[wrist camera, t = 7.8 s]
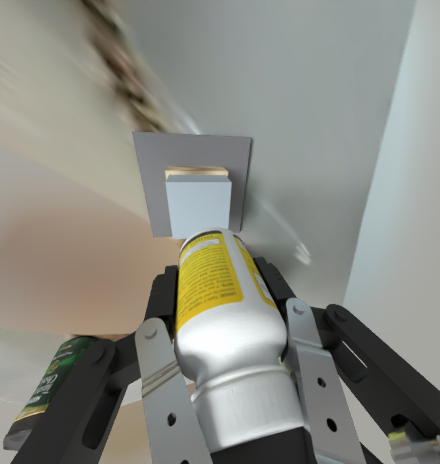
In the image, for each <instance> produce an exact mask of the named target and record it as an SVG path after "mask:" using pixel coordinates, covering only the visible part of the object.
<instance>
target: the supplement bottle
mask: <svg viewBox="0 0 440 464" xmlns="http://www.w3.org/2000/svg"><path fill="white" fill-rule="evenodd" d="M178 266H179V267H178V282H177V299H176V315H175V331H174V353H175V356H176V359H177V362H178V364H179V366H180V369H181V372H182V374H183V375H184V376H185V377H187V378H188V379H190V380H192V381H195V383H196V390H195V391H194V393H193V394H192V396H191V401H192V404H193V407H194V410H195V413H196V416H197V418H198V421H199V423H200V427H201V430H202V433H203V436H204V439H205V442H206V445H207V448H208V451H209V453H210V454H211V453H214V452H217V451H220V450H223V449H226V448H229V447H233V446H236V445H239V444H242V443H246V442H249V441H252V440H255V439H258V438H262V437H265V436H269V435H272V434H276V433H279V432H283V431H286V430H290V429H294V428H297V427H301V426H303V425H304V419H303V414H302V410H301V405H300V400H299V396H298V392H297V389H296V386H295V384H294V382H293V380H292V379H291V378H290V373H289V371H288V370H287V369H286V368H284V367H282V366H280V363H279V361H278V358H279V356H280V355H281V354H282V352H283V350H284V348H285V346H286V342H287V330H286V326H285V323H284V321H283V319H282V317H281V315H280V313H279V310H278V309H277V307H276V305H275V303H274V301H273V299H272V297H271V295H270V293H269V291H268V289H267V287H266V285H265V283H264V281H263V279H262V278H261V276H260V274H259V272H258V270H257V268H256V266H255V264H254V262H253V260H252V258H251V256H250V254H249V252H248V250H247V248H246V246H245V245H244V243H243V241H242V240H241V238H240V237H239V236H238V235H237V234H236V233H234V232H232V231H230V230H228V229H225V228H218V227H214V228H206V229H203V230H200V231H198V232H196V233H194V234H193V235H191V236H190V237H189V238H188V239H187V240H186V241H185V243H184V244H183V246H182V248H181V251H180V256H179V265H178Z"/></svg>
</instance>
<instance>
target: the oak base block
mask: <svg viewBox="0 0 440 464" xmlns="http://www.w3.org/2000/svg"><path fill="white" fill-rule="evenodd" d="M165 174H166V180H167V178H168V176H169V174H170V175H225V176H226V177H227V178H228V171H227V170H226V169H225V168H224V167H218V166H168V167H167V169H166V170H165Z"/></svg>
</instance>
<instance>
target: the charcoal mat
mask: <svg viewBox="0 0 440 464" xmlns="http://www.w3.org/2000/svg"><path fill="white" fill-rule="evenodd" d="M132 134H133V139H134V144H135V149H136V154H137V159H138V164H139V168H140V173H141V178H142V183H143V188H144V193H145V198H146V203H147V208H148V213H149V218H150V223H151V227H152V232H153V237H166V236H172V229H171V221H170V213H169V206H168V198H167V190H166V183H165V182H166V174H165V170H166V169H167V167H168V166H218V167H224V168H225V169H226V170H227V171H228V179H229V180H230V181H231V182H232V185H231V198H230V211H229V224H228V230H230V231H232V232H234V233H239V232H240V225H241V217H242V209H243V200H244V192H245V184H246V176H247V167H248V159H249V151H250V142H251V137H231V136H211V135H191V134H170V133H150V132H132Z"/></svg>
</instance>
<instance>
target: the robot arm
mask: <svg viewBox="0 0 440 464" xmlns="http://www.w3.org/2000/svg"><path fill="white" fill-rule="evenodd" d="M252 260H253V262H254V264H255V266H256V268H257V270H258V272H259V274H260V276H261V278H262V279H263V281H264V283H265V285H266V287H267V289H268V291H269V293H270V295H271V297H272V299H273V301H274V303H275V305H276V307H277V309H278V310H279V313H280V315H281V317H282V319H283V321H284V323H285V326H286V330H287V342H286V346H285V348H284V350H283V352H282V354H281V355H280V356H279V358H278V361H279V363H280V366H282V367H284V368H286V369H287V370H288V371H289V373H290V378H291V379H292V380H293V382H294V384H295V386H296V389H297V392H298V396H299V400H300V405H301V410H302V414H303V419H304V425H303V426H301V427H297V428H294V429H290V430H286V431H283V432H279V433H276V434H272V435H269V436H265V437H262V438H258V439H255V440H252V441H249V442H246V443H242V444H239V445H236V446H233V447H229V448H226V449H223V450H220V451H217V452H214V453H211V454H210V453H209V451H208V448H207V445H206V442H205V439H204V436H203V433H202V430H201V427H200V423H199V421H198V418H197V416H196V413H195V410H194V407H193V404H192V401H191V398H190V395H189V392H188V389H187V387H186V383H185V380H184V378H183V375H182V372H181V369H180V366H179V364H178V362H177V359H176V356H175V353H174V350H173V347H172V343H173V339H174V331H175V315H176V299H177V282H178V267H177V265H172V266H166V268H165V274H161V275H157V277H156V278H155V280H154V281H153V284H152V290H151V293H150V298H149V301H148V306H147V310H146V314H145V318H144V321H143V323H142V324H141V325H140V326H139V327H138V329H137V330H136V331H135V332H134V333H132V334H130V335H129V336H127V337H124V338H122V339H120V340H118V341H116V342H113V341H112V340H110V339H103V340H99V341H97V342H95V343H93V344H92V345H91V346H89V347H88V348H87V349H86V350H85V351H84V352H83V354H82V355H81V356H80V358H79V359H78V361H77V362H76V364H75V366H74V367H73V369H72V370H71V372H70V373H69V375H68V376H67V378H66V379H65V381H64V382H63V384H62V385H61V387H60V388H59V390H58V392H57V393H56V395H55V396H54V398H53V399H52V401H51V402H50V404H49V405H48V407H47V408H46V410H45V411H44V413H43V414H42V416H41V418H40V419H39V421H38V422H37V424H36V425H35V427H34V428H33V430H32V431H31V433H30V434H29V436H28V437H27V439H26V440H25V442H24V444H23V445H22V447H21V448H20V450H19V451H18V453H17V454H16V456H15V457H14V459H13V461H12V462H11V464H98V462H99V460H100V457H101V455H102V452H103V449H104V447H105V444H106V442H107V439H108V436H109V434H110V431H111V429H112V426H113V423H114V421H115V418H116V416H117V413H118V410H119V408H120V405H121V403H122V400H123V397H124V395H125V392H126V390H127V387H128V385H129V384H131V383H133V382H134V381H136V380H138V379H139V378H142V400H143V407H144V413H145V419H146V425H147V432H148V438H149V443H150V450H151V457H152V463H153V464H383V463H382V462H381V461H380V460H379V459H378V458H376V456H375V455H373V454H372V453H371V452H370V451H369V450H368V449H367V448H366V447H365V446H364V445H363V444H362V443H361V442H359V439H358V436H357V433H356V430H355V426H354V423H353V420H352V417H351V414H350V411H349V408H348V405H347V402H346V399H345V395H344V392H343V389H342V386H341V383H340V380H339V377H338V375H339V376H340V378H341V379H342V380H343V381H344V383H345V384H346V385H347V387H348V388H349V389H350V390H351V392H352V393H353V394H354V395H355V397H356V398H357V399H358V400H359V402H360V403H361V404H362V406H363V407H364V408H365V409H366V411H367V412H368V413H369V414H370V416H371V417H372V418H373V419H374V421H375V422H376V423H377V424H378V426H379V427H380V428H381V430H382V431H383V432H384V433H385V435H386V436H387V437H388V438H389V443H390V446H391V451H390V452H391V456H392V458H393V460H394V462H395V463H396V464H440V391H439V390H438V389H437V388H436V387H434V386H433V385H432V384H431V383H430V382H429V381H428V380H426V379H425V378H424V377H423V376H422V375H421V374H420V373H419V372H417V371H416V370H415V369H414V368H413V367H412V366H411V365H410V364H408V363H407V362H406V361H405V360H404V359H403V358H402V357H400V356H399V355H398V354H397V353H396V352H395V351H394V350H392V349H391V348H390V347H389V346H388V345H387V344H386V343H385V342H383V341H382V340H381V339H380V338H379V337H378V336H376V335H375V334H374V333H373V332H372V331H371V330H370V329H369V328H367V327H366V326H365V325H364V324H363V323H362V322H361V321H360V320H358V319H357V318H356V317H355V316H354V315H353V314H352V313H350V312H349V311H348V310H347V309H345V308H344V307H342V306H340V305H336V304H330V305H328V306H327V308H326V309H321V308H315V307H310V306H309V305H308V304H307V303H306V302H305V301H303V300H301V299H298V298H297V297H296V296H295V294H294V293H293V292H292V290H291V289H290V287H289V286H288V284H287V283H286V281H285V280H284V279H283V277H282V275H281V274H280V272H279V271H278V269H277V268H276V267H275V266H273V265H272V264H271V263H270V264H268V263H267V262H266V260H265V259H264V258H263V257H259V258H253V259H252ZM343 341H344V342H345V343H346V344H347V345H348V346H349V348H350V349H351V350H352V351H353V352H354V353H355V354H356V355H357V356H358V357H359V358H360V359H361V360H362V361H363V362H364V363H365V365H366V366H367V368H366V367H365V366H364V365H363V364H362V363H361V361H360V360H359V359H358V358H357V357H356V356H355V355H354V354H353V353H352V352H351V351H350V350H349V349H348V348H347V347H346V345H345V344H344V343H343Z"/></svg>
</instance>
